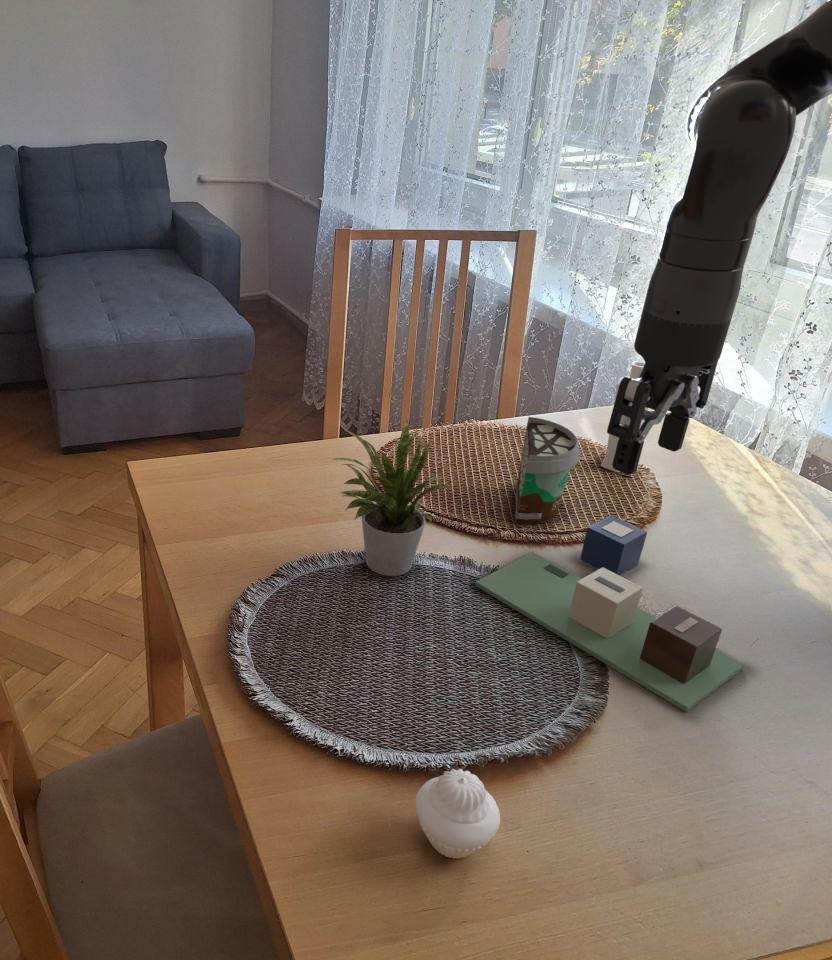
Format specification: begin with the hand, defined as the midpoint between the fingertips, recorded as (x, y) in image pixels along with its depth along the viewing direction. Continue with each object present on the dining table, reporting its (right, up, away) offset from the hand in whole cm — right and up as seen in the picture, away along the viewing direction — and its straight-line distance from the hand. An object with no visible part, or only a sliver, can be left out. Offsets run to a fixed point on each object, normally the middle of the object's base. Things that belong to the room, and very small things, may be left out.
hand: (646, 459), depth 89 cm
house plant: (-25, -11, +12) cm, 30 cm away
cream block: (-5, -17, 0) cm, 17 cm away
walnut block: (-1, -20, -6) cm, 21 cm away
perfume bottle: (+12, 0, +30) cm, 32 cm away
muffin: (-27, -30, -23) cm, 47 cm away
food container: (-3, -6, +20) cm, 21 cm away
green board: (-5, -17, 0) cm, 18 cm away
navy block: (+1, -12, +9) cm, 15 cm away
